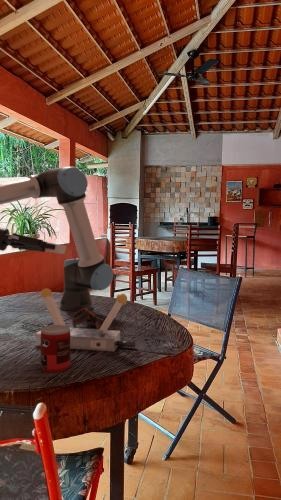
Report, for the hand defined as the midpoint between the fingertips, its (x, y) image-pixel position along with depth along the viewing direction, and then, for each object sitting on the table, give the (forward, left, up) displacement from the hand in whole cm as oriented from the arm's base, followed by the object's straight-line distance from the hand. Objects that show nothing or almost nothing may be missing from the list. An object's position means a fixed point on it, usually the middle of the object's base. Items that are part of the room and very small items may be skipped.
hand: (65, 250), depth 128 cm
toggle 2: (+5, +15, -26) cm, 30 cm away
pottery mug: (-16, +3, -31) cm, 35 cm away
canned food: (+25, +7, -31) cm, 40 cm away
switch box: (+5, +10, -31) cm, 32 cm away
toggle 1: (+5, +1, -26) cm, 26 cm away
